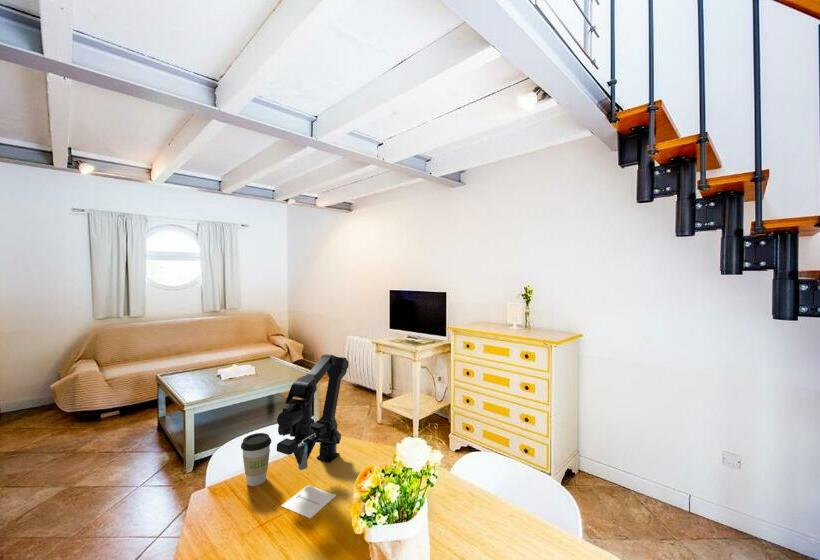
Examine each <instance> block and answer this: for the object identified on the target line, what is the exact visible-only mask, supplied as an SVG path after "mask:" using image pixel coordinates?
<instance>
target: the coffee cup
mask: <svg viewBox="0 0 820 560" xmlns="http://www.w3.org/2000/svg"><path fill="white" fill-rule="evenodd" d="M271 444H272V439H271V437H270V435H269V433H266V432H265V433H264V432H257V433H252V434H250V435H247V436H246V437H244V438H243V440H242V442H241V444H240V449H241V450H242V461H243V468H244V472H245V479H246V484H247V486H249V487H256V486H260V485H262V484H264V483H265V482H266V481H267V474H268V469H269V468H268V467H269V459H270V452H271V451H270V447H271Z"/></svg>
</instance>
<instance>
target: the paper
mask: <svg viewBox="0 0 820 560" xmlns="http://www.w3.org/2000/svg"><path fill="white" fill-rule="evenodd" d="M335 497H337V495H336V494H334V493H331V492H329V491H328V492H327V490H326V491H325V490H323V489H320V488H317V487H314V486H312V485H306V486H305V487H303V488H302V489H300V491H298V492H297V493H296V494H295V495H293V496H292V497H290V498H289V499H288V500H287V501H285V502H283V504H281V505H280V506H281V508H284V509H286V510H289V511H291V512H294V513H295V514H298V515H301V516H303V517H306V518H308V519H312V518H313V517H314V516H316V514H317V513H319V512H320V511H321V510H322V509H323V508H325V506H326V505H327V504H329V503H330V502H331V501H332V500H333V499H334V498H335Z"/></svg>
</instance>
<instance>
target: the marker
mask: <svg viewBox="0 0 820 560" xmlns="http://www.w3.org/2000/svg"><path fill="white" fill-rule="evenodd" d="M302 446H304V447H305V449H304V454H303V458H302V462H301V464H298V463H297V465H298V466H297V467H298V468H297V469H298V470H299V471H303V470H307V468H308V460H307V450H308V444H307V443H303V442H302Z"/></svg>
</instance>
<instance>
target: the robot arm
mask: <svg viewBox="0 0 820 560" xmlns="http://www.w3.org/2000/svg"><path fill="white" fill-rule="evenodd" d="M348 368H349V361H348V359H347V357H345V356H344V357H342V356H341V357H340V356H336V355H334V354H322V355H321V356H320V359H319V360H318V361H317V363H315V365H314V366H313V367H312V368H311V369H310V370H309V372H308V373H307V374H305V375H304V376H301V377H299V378H297V379H296V380H295V381H293V382H292V385H291V386H290V389H289V390H288V394H287V397H286V399H285V405H287V406H284V407H283V408H282V411H281V412H280V413H279V414H278V416H277V418H276V421H277V424H278V428H277V432H278V435H279V436H283V437H285V436H288V435H289V437H291V438H292V439H290V438H288V437H287V438H284V439H282V440H280V441H279V442H277V444H276V452H278V453H280V454H281V453H282V454H284V455H288V456H290V455H292V454H293V455H294V457H295V460H296V463H297V465H298V464H301V462H302V458H303V454H304V449H305V447H304V446H302V443H307V444H308V450H307V461H308V460H309V458H310V456H311V454H312V451H313V450H314V447H315V446H316V443H319V454H318V456H316V459H318V460H321V461H324V462H328V463H331V462H332V461H333V460H335V459H336V458H338V457H339V456H340V453H339V452H337V445H339V444H340V443H341V442H340V441H341V439H342V434H341V433H340V432H339V430H338V423H337V420H336V412H337V405H338V399H339V394H340V388H341V383H342V382H341V381H342V379H343V378H344V377H345V376H346V374H347V371H348ZM326 374H327V377H328V383H327V387H326V392H325V393H326V394H325V398H324V399H325V400H324V404H323V411H322V415H321V417H320V418H319V419H318V420H316V421H315V419H314V418H312V402H313V401H314V400H315V398H314V395H315V393H316V392H317V389H318V387H317V385H318V384H319V382H320V381H321V380H322V378H323V377H324V375H326ZM293 437H294V438H293Z"/></svg>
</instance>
